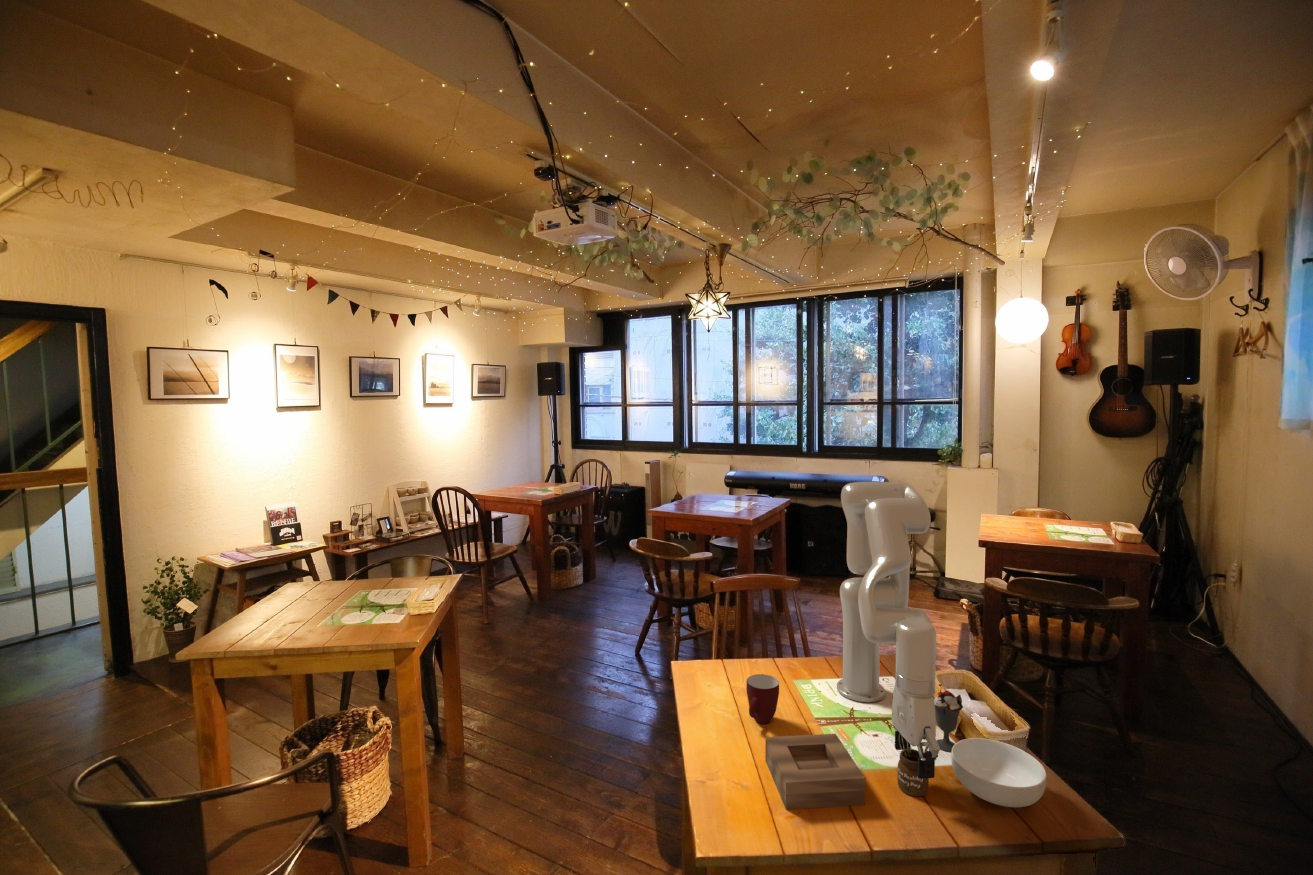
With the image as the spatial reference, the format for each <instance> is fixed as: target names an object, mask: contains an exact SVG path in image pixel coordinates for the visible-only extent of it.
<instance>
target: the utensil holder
mask: <svg viewBox="0 0 1313 875" xmlns="http://www.w3.org/2000/svg"><path fill="white" fill-rule="evenodd" d="M899 735H900V734H899ZM901 736H902V735H901ZM899 737H900V736H899ZM902 737H903V736H902ZM902 742H903V739H902ZM899 743H900V741H899ZM903 747H904V745H903ZM907 747H908V743H907ZM923 751H924V753H925V752H927V751H929V748H928V746H925V748H924V750H923ZM918 758H920V755H919V752H918V749H913V748H912V746H910V749H904V750H902V748H901V750H900V753H899V760H898V763H897V777H896V778H897V786H898V788H899V789H900V790H901V792H903V793H905V794H906V795H910V796H912V797H924V796H925V795H927V793H928V791H929V785H930V784H929V783H930V782H929V779H930V778H925V779H920V778H919V777H918Z"/></svg>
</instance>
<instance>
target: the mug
mask: <svg viewBox="0 0 1313 875" xmlns="http://www.w3.org/2000/svg"><path fill="white" fill-rule="evenodd" d="M746 695H747V696H746V697H747V702H748V714H749V716H750V717H751V718H752V719H754V721H755V722H756V723H757V724H762V725H766V724H767V725H768V724H769V723H771V721H772V720H773V718H774V716H775V715H776V712H777V706H778V702H779V701H778V700H779V696H780V681H779V680H778V679H777V677H775V676H773V675H771V674H770V675H768V674H763V673H757V674H752V675H751V676H748V677H747V678H746Z"/></svg>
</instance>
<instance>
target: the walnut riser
mask: <svg viewBox="0 0 1313 875" xmlns="http://www.w3.org/2000/svg"><path fill="white" fill-rule="evenodd" d="M764 753H765V755H764V758H765V764H766V765H767V768H768V771H769V772H770V775H771V777H772V780H773V782H774V785H775V787H776V789H777V792H778V794H779V797H780V799H781V801H782V804H783V807H784V809H785V810H797V809H817V808H819V809H820V808H830V807H831V808H832V807H835V808H836V807H848V806H852V807H853V806H865V805H866V777H865V776H864V774H863V773H862V771H861V769H860V768H859V767H858V765H857V764H856V762H855V761H854V759H853V757H852V756H851V754H850V753H849V751H848V750H847V748H846V746H845V745H844V744H843V743H842V741H841V740H840V738H839V737H838V735H837V734H836V733H823V734H822V733H821V734H802V735H800V734H798V735H783V736H782V735H780V736H766V737H765V752H764Z"/></svg>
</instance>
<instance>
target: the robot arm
mask: <svg viewBox="0 0 1313 875" xmlns="http://www.w3.org/2000/svg"><path fill="white" fill-rule="evenodd" d="M840 492H841V493H840V502H841V506H842V510H843V513H844V516H845V519H846V523H847V524H846V525H847V526H846V527H847V529H846V530H847V531H846V533H847V534H846V535H847V537H846V564H847V565H846V566H847V567H848V570H849V571H850V572H851V573H852V574H854V575H855V574H856V575H861V576H863V577H852V578H847V579H845V580H844V581H842V582H841V585H840V587H839V597H840V604H841V609H842V678H841V679H840V680H838V681H837V683H836V689H837V692H838V693H839V694H840V695H841V696H843V697H845V698H846V699H849V700H852V701H856V702H861V703H875V702H879V701H881V700H883V699H884V698H885V697H886V689H885V688H884V686H883V685H882V684H881V683H880V655H881V654H880V653H881V652H880V650H881V649H880V647H881V646H880V644H881V645H895V679H894V680H895V682H894V687H893V693H892V703H891V704H892V706H891V722H892V723H891V724H892V725H893V727H894V748H895V750H896V751H902V750H904V749H910V747H917V751H918V752H919V755H920V758H918V777H919V778H920V779H925V778H929V779H933V778H935V777H936V776H935V775H936V774H935V773H936V772H935V771H936V770H935V768H936V760H937V758H939V753H940V751H941V749H940V747H939V745H938V743H937V741H936V740H937V720H936V712H935V703H934V698H935V696H934V695H935V694H936V664H937V663H936V660H937V631H936V628H935V627H934V626H933V625H932V621H931V618H930V617H929V615H928V614H927V613H926V611H924V610H923V609H920V608H915V607H908V604H909V596H910V594H909V592H910V591H909V590H910V574H911V573H910V570H911V565H912V561H913V558H912V555H911V554H912V553H911V550H910V543H909V539H908V534H909V535H910V534H916V535H917V534H920V535H921V534H925V533H927V532H928V530H930V526H931V513H930V510H929V507H928V504H927V503H926V500H925V499H924V498H923V497H922V496H921V494H920V493H919V492H918V491H917V489H915V488H914V487H913V486H912V484H910V483H908V482H903V481H901V482H900V481H885V482H884V481H856V482H855V481H854V482H849V483H846V484H845V485H844V486H843V487H842V489H841V491H840ZM899 734H900V735H899ZM901 735H902V736H903V737H902V736H901ZM899 736H900V737H899ZM902 739H903V742H902ZM923 740H925V741H923ZM899 741H900V743H899ZM907 743H908V747H907ZM903 745H904V747H903ZM926 746H928V750H927V752H925V753H924V751H925V750H924V748H923V747H926ZM901 748H902V750H901Z"/></svg>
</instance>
